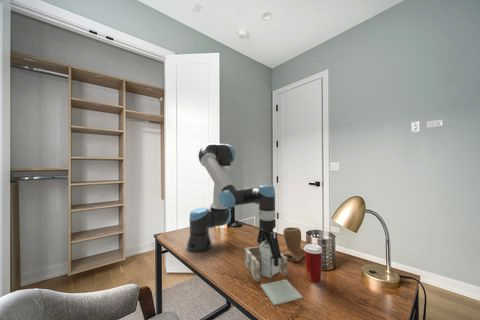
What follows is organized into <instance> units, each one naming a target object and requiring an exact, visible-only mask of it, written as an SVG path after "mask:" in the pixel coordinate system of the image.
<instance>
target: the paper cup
mask: <svg viewBox="0 0 480 320" xmlns="http://www.w3.org/2000/svg"><path fill="white" fill-rule="evenodd" d="M303 250H305V255H304V260H305V268H306V269H305V270H306V279H307V280H308V281H309V282H311V283H315V284H317V283H320V282H321V279H322V258H323V257H322V256H323V255H322V254H323V249H322V247H321V246H320V245H319V244H315V243H307V244H305V245H304V247H303Z"/></svg>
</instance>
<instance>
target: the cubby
mask: <svg viewBox="0 0 480 320" xmlns="http://www.w3.org/2000/svg"><path fill="white" fill-rule="evenodd" d="M280 253H281V258H278V266H279V272H280V274H281V275H282V276H284V277H288V259H287V258H286V257H285V256H284V255H283V254H284V253H282V252H280ZM243 256H244V257H243V259H244V260H243V261H244V262H243V264H244V266H245V267H246V269H247V270H248V272H249V273H250V275H251V276H252V278H253V279H254V281H255V282H256V283H259V282H260V281H261V275H260V255H259V245H258V246H251V247H244V249H243Z"/></svg>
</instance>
